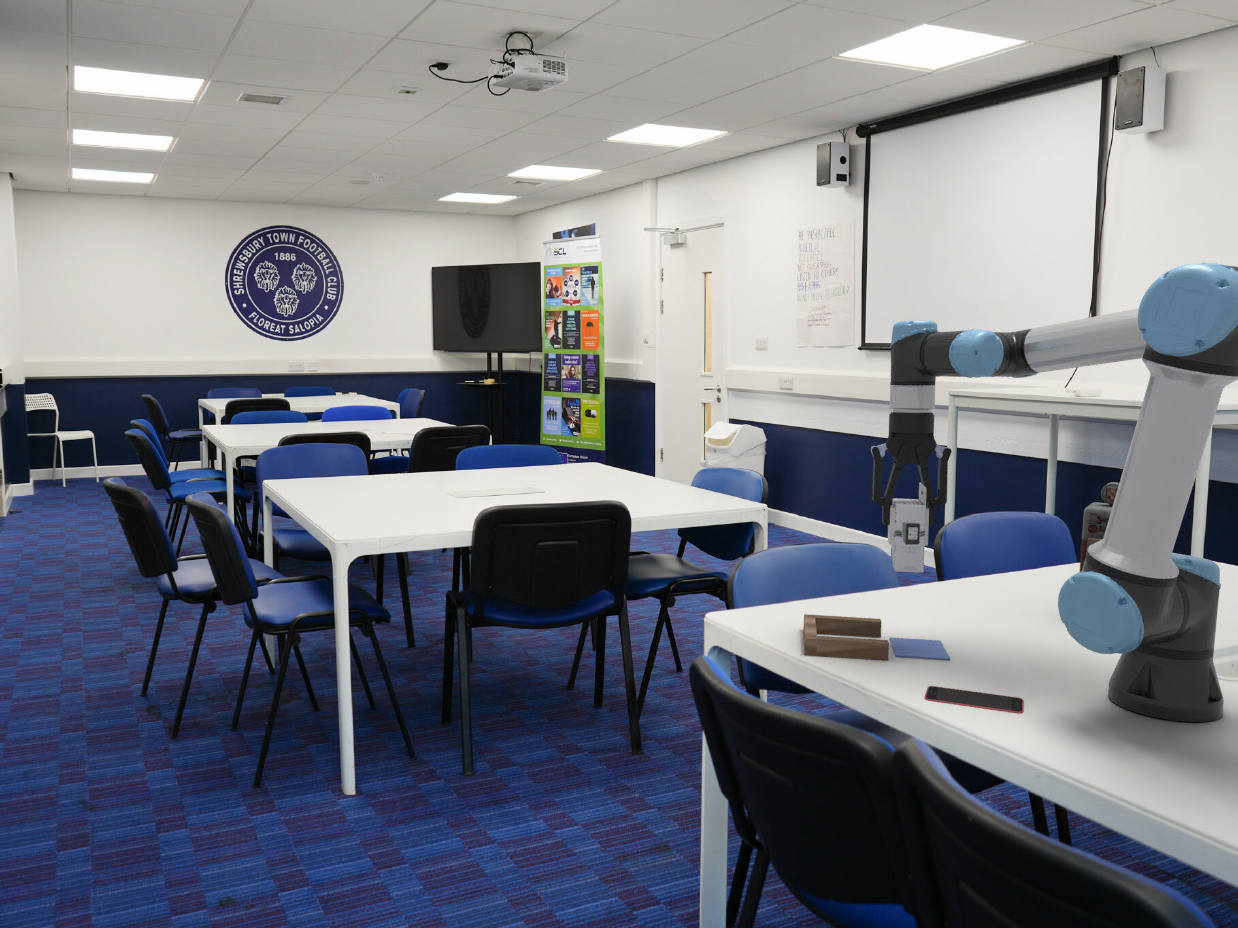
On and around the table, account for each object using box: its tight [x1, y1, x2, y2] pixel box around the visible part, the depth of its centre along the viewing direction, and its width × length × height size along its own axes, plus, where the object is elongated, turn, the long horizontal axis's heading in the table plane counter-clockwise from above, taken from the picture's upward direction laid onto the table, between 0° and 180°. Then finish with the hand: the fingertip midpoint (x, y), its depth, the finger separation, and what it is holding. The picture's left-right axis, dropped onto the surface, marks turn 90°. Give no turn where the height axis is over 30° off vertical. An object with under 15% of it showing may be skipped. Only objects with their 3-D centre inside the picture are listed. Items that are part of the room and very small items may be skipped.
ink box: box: [890, 482, 927, 574], centre depth 171 cm, size 9×5×15 cm, turn 170°
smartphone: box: [924, 685, 1025, 715], centre depth 148 cm, size 7×1×14 cm
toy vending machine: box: [1079, 481, 1120, 572], centre depth 190 cm, size 9×11×28 cm
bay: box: [803, 613, 890, 661], centre depth 175 cm, size 16×14×3 cm
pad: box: [889, 636, 951, 661], centre depth 173 cm, size 11×9×1 cm
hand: (907, 543), depth 171 cm, fingers closed on ink box, 5 cm apart
